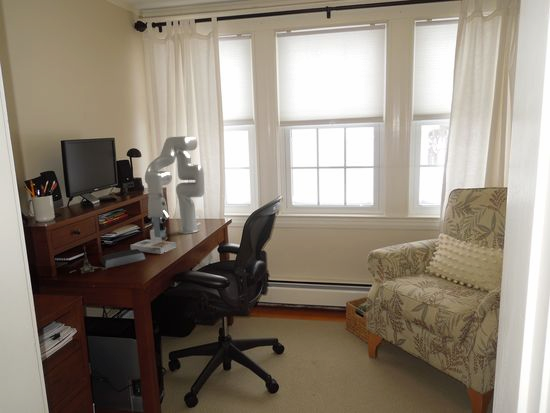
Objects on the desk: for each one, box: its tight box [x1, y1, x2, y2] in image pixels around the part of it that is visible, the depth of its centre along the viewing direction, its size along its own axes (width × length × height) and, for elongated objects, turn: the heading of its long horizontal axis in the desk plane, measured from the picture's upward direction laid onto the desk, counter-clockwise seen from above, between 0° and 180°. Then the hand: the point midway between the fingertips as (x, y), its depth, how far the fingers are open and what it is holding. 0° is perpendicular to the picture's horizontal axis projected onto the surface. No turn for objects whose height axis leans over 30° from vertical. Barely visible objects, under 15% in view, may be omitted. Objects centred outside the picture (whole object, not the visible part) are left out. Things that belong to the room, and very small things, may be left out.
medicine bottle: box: [149, 222, 168, 241], centre depth 238 cm, size 7×7×12 cm
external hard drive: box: [100, 249, 146, 269], centre depth 203 cm, size 13×19×4 cm
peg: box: [153, 217, 166, 237], centre depth 216 cm, size 4×4×11 cm
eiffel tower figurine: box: [69, 246, 108, 274], centre depth 190 cm, size 15×10×13 cm
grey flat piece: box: [130, 239, 177, 255], centre depth 221 cm, size 12×22×3 cm, turn 63°
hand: (159, 229), depth 216 cm, fingers closed on peg, 4 cm apart
